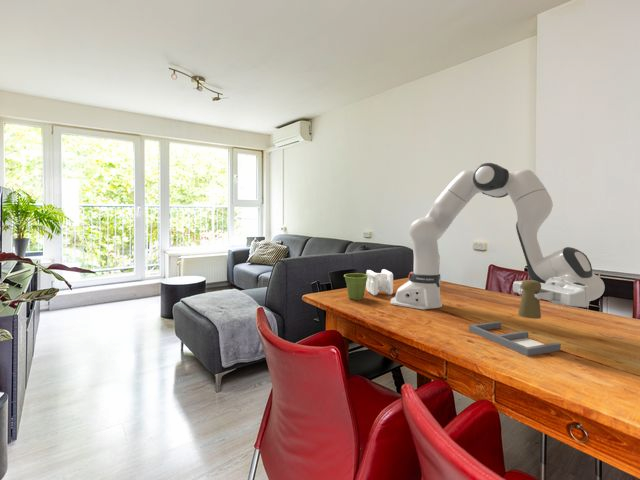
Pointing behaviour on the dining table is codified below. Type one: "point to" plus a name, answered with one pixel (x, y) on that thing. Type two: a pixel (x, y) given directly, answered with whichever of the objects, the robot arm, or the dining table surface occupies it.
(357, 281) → the plant pot
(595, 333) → the dining table surface
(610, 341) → the dining table surface
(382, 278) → the cable organizer
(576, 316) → the dining table surface
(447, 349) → the dining table surface
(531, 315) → the cork
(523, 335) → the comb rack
